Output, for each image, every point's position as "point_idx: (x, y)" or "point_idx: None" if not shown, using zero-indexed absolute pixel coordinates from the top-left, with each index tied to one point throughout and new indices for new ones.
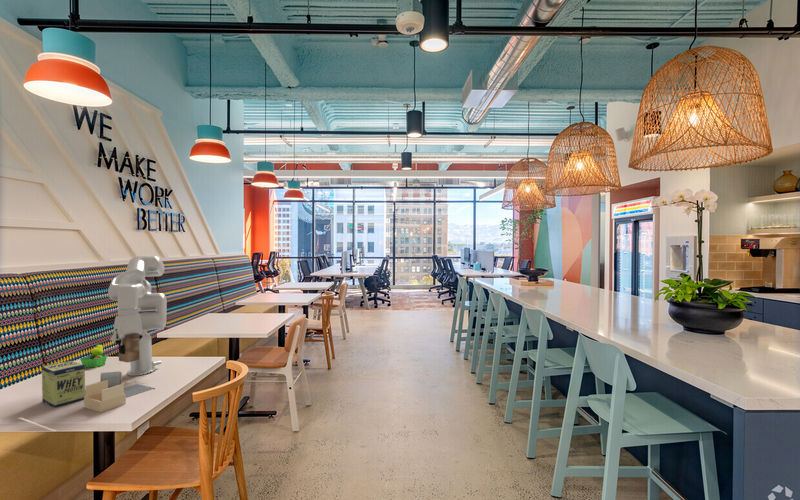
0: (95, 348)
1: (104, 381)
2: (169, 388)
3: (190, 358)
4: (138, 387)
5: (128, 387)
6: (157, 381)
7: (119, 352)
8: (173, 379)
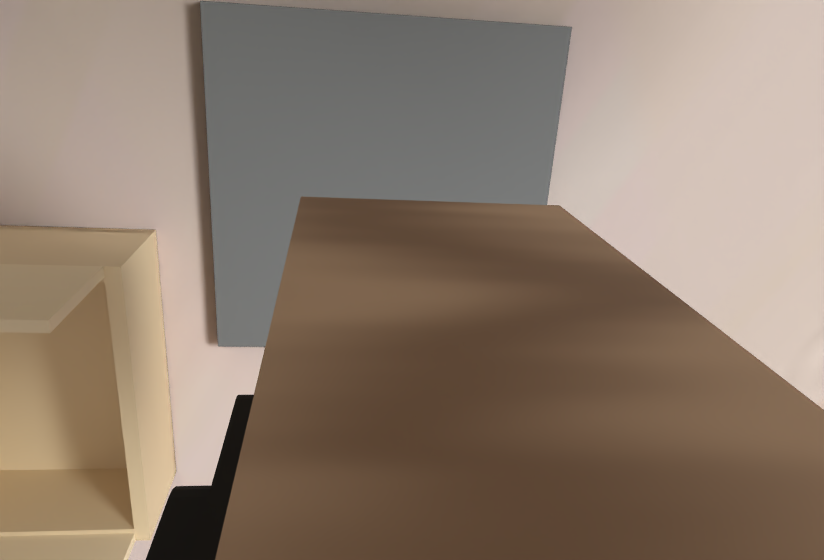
0: None
1: (5, 330)
2: None
3: None
4: (488, 176)
5: (452, 59)
6: (718, 134)
7: (235, 403)
8: (797, 239)
